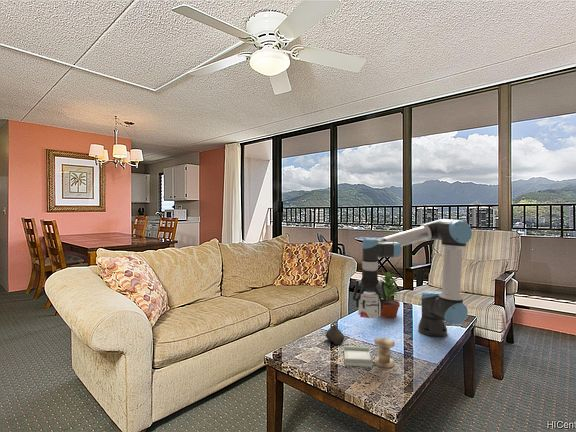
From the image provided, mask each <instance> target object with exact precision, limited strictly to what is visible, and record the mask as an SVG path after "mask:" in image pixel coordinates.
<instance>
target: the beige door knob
mask: <svg viewBox="0 0 576 432" xmlns="http://www.w3.org/2000/svg"><path fill="white" fill-rule="evenodd" d="M373 341H374V345H375V346H377V347H378V356H375V358H374V360H373V361H374V365H376V366H378V367H380V368H386V369H387V368H388V369H389V368H393V367H394V366H395V363H396V362H395V360H394V359H393V358H391V348H393V347H395V344H396V342H395V340H393V339H392V338H389V337H376V338H374V340H373Z"/></svg>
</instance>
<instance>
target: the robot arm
mask: <svg viewBox="0 0 576 432" xmlns="http://www.w3.org/2000/svg"><path fill="white" fill-rule="evenodd" d="M472 235H473V232H472V228H471V226H470V225H469V224H468V223H467V222H465V220H460V219H445V218H442V219H437V220H434V221H433V220H432V221H429V222H426V223H422V224H421V225H420V226H419V227H418V226H417V227H415V228H413V229H409V230H405V231H401V232H398V233H397V232H396V233H395V234H390V235H387V236H384V237H380V238H375V237H374V238H373V237H366V238H364V239H362V247H361V248H362V263H361V265H362V266H361V268H362V270H361V279H355V287H354V291H353V295H352V300H353V301H355V307H356V308H358V310H357V314H358V316H360V304H361V294H363V293H364V292H366V290H367V289H371V290H373V289H374V291H375V292H376V294H378V298H379V300H380V301H378V317H381V315H380V314H381V309H383V302H386V301H387V299H386V294H385V290H384V282H385V280H382V281H380V280H379V271H378V269H379V258H398V257H400V256H401V254H402V247H404V246H409V245H411V244H414V243H419V242H421V241H426V242H428V241H433V240H434V241H435V240H437V241H440V242H441V246H442V247H443V263H442V264H443V266H442V267H443V269H442V285H441V286H442V288H441V291H436V290H427V291H424V292H422V293H421V297H420V299H421V318H420V321H419V323H418V326H417V327H418V328H417V329H418V332H419V333H421V334H422V335H425V336H428V337H436V338H437V337H438V338H443V337H445V336H447V335H448V328H447V325H446V323H448V324H451V325H459V324H462V323H463V322H464V321H465V320H466V319H467V318H468V314H469V313H468V312H469V311H468V307H467V306H466V305H465V304H464V297H463V296H462V295H461V285H462V284H461V283H462V267H463V265H462V264H463V263H462V262H463V251H464V249H465V248H466V247H467V243H469V242H470V240H471V239H472V237H473V236H472ZM361 284H362V288H361V289H360V291H359V292H358V290H359V286H360V285H361ZM378 284H379V286H380V289H381V293H380V292H379V290H378V288H377V285H378ZM381 294H383V295H381ZM380 295H381V296H382V297H383V298H382V297H381V296H380Z"/></svg>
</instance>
